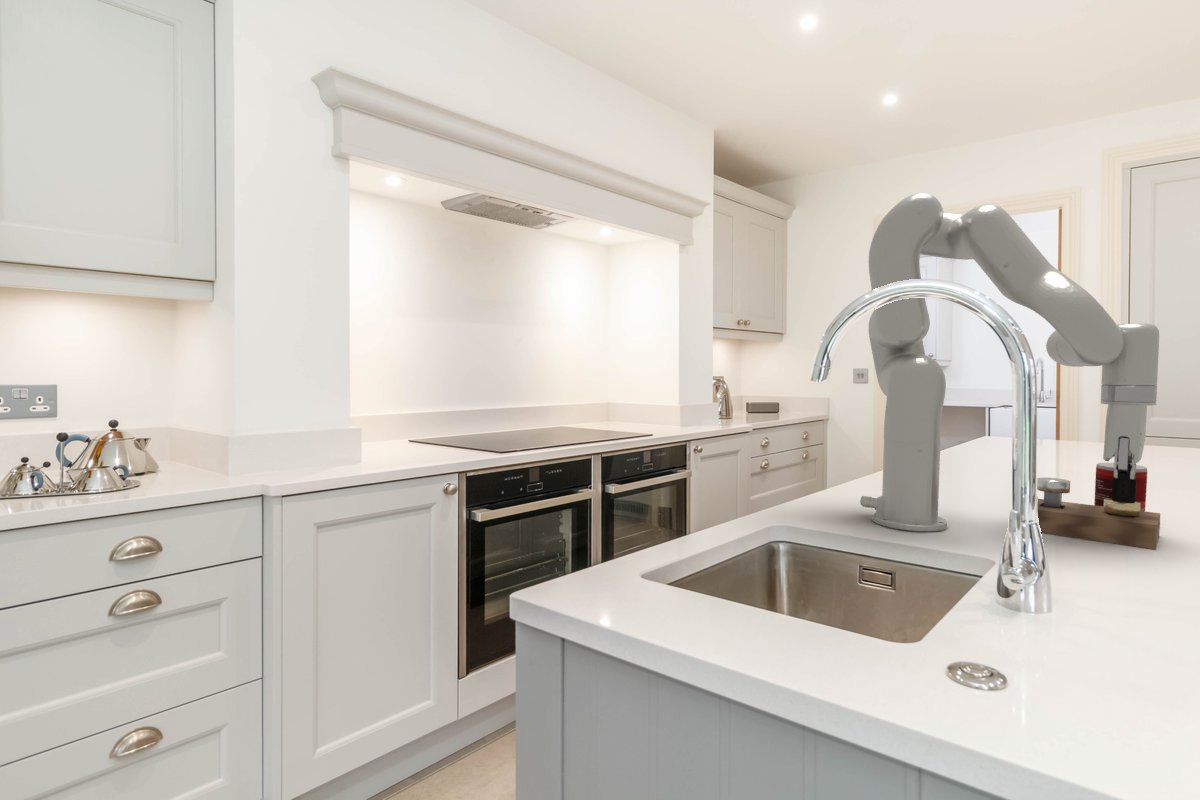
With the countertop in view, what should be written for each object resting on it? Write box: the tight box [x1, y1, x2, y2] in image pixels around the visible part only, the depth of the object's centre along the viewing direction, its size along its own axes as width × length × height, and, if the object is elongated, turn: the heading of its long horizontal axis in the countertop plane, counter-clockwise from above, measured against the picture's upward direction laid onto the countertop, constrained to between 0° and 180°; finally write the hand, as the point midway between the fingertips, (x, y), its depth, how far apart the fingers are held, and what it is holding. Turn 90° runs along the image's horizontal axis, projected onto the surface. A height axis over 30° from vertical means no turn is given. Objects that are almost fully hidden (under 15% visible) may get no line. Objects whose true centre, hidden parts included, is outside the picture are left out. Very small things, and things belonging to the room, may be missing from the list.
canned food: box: [1093, 462, 1148, 512], centre depth 126 cm, size 8×8×11 cm
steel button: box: [1036, 477, 1071, 509], centre depth 122 cm, size 5×5×6 cm
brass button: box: [1103, 498, 1140, 517], centre depth 116 cm, size 5×5×6 cm
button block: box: [1037, 498, 1161, 550], centre depth 119 cm, size 20×12×4 cm, turn 48°
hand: (1123, 501), depth 116 cm, fingers closed
